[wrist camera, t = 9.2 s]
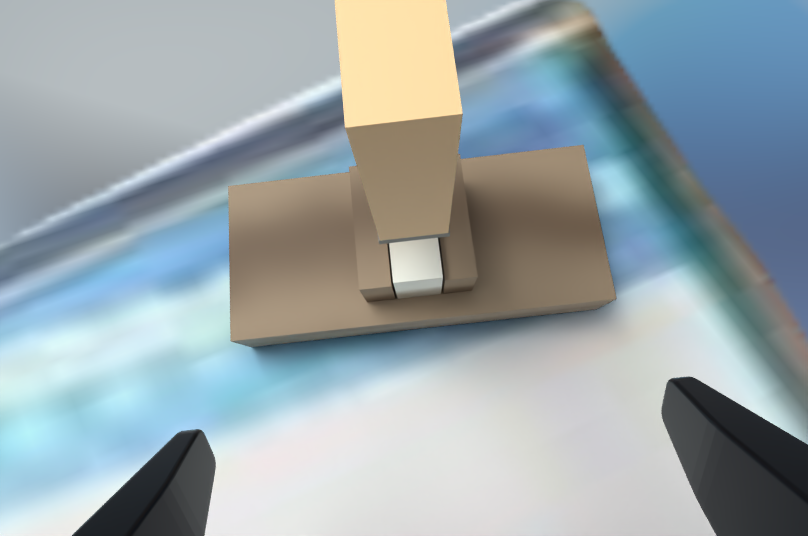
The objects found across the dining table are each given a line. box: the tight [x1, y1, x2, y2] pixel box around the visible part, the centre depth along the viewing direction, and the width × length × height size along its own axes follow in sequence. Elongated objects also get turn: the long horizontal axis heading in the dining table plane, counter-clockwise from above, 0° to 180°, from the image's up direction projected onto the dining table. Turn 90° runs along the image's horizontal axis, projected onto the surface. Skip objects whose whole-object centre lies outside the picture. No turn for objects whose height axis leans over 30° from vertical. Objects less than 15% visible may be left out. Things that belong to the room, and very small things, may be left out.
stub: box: [335, 0, 463, 244], centre depth 11 cm, size 5×2×6 cm, turn 6°
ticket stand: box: [228, 145, 616, 347], centre depth 21 cm, size 7×16×6 cm, turn 96°
